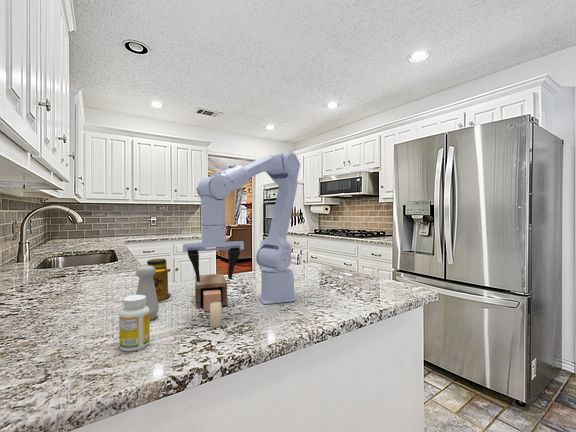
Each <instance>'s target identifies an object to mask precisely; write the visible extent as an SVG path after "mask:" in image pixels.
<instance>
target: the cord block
mask: <svg viewBox="0 0 576 432" xmlns="http://www.w3.org/2000/svg"><path fill="white" fill-rule="evenodd" d="M202 297H203V299H202V302H203V303H202V304H203V307H202V308H203V312H205V311H207V312H209V327H210V328H212V329H215V328H217V329H218V328H220V327H222V322H223V321H222V318H223V317H222V302H221V292H220V289H219V290H207V291H203V296H202ZM205 313H206V312H205Z"/></svg>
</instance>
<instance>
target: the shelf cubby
mask: <svg viewBox="0 0 576 432" xmlns="http://www.w3.org/2000/svg"><path fill="white" fill-rule="evenodd" d="M199 275H200V282H197V280H196V275H195V276H194V277H195V278H194V284H195V285H194V288H195V289H194V291H195V293H194V295H195V296H194V297H195V309H198V308H197V307H200V308H201V297H200V296H202V297H203V291H207V290H219V289H220V292H221V301H222V302H221V306H223V305H226V306H228V282H227V280H226V277H225V276H224V274H223V273H216V274H215V273H214V274H199Z"/></svg>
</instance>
